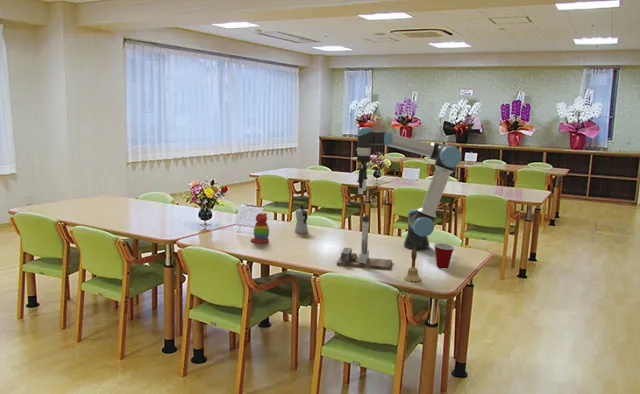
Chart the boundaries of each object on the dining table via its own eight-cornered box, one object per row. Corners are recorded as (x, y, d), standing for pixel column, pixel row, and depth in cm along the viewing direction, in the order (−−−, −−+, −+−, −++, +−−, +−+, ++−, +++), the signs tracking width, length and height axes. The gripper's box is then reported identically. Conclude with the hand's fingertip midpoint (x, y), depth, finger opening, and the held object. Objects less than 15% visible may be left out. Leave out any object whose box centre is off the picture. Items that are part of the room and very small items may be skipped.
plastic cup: (453, 271, 282) (455, 248, 280) (432, 269, 284) (434, 247, 282) (453, 265, 292) (454, 243, 290) (432, 263, 294) (433, 242, 292)
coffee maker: (291, 230, 364) (292, 204, 361) (304, 229, 367) (304, 203, 364) (299, 235, 350) (300, 208, 347) (312, 234, 354) (313, 207, 351)
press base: (391, 262, 294) (392, 250, 293) (390, 269, 281) (390, 257, 280) (340, 258, 300) (341, 246, 298) (336, 265, 286) (337, 253, 285)
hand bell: (402, 276, 269) (404, 245, 267) (418, 276, 270) (420, 245, 268) (406, 282, 261) (408, 250, 259) (423, 282, 262) (425, 250, 259)
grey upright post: (368, 258, 295) (370, 213, 291) (366, 263, 284) (368, 217, 280) (361, 257, 296) (363, 213, 292) (358, 263, 285) (360, 216, 281)
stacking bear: (265, 239, 338) (265, 211, 335) (272, 242, 330) (273, 213, 327) (249, 241, 332) (249, 212, 329) (256, 244, 324) (257, 215, 321)
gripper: (359, 153, 320) (358, 188, 324) (353, 156, 296) (352, 195, 299) (372, 153, 319) (371, 189, 322) (367, 157, 295) (366, 195, 298)
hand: (362, 192), depth 311 cm, fingers open, 13 cm apart
